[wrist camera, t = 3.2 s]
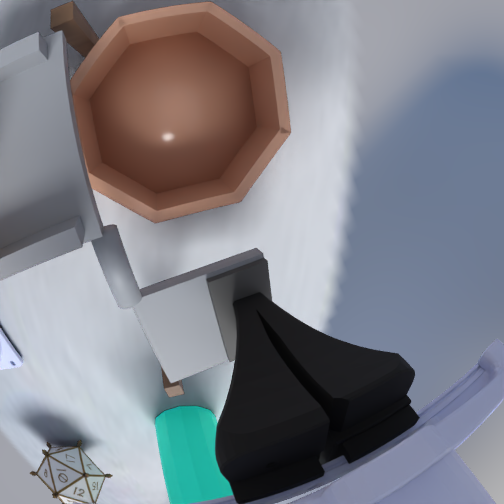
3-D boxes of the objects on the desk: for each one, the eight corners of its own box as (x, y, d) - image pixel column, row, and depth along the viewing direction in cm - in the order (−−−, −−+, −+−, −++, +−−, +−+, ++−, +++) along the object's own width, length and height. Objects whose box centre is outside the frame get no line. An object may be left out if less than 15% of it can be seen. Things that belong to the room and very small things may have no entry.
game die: (72, 429, 25) (55, 489, 18) (29, 413, 18) (11, 485, 12) (131, 459, 23) (113, 524, 17) (93, 454, 17) (74, 534, 11)
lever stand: (59, 348, 16) (45, 416, 11) (-31, 108, 8) (-94, 115, 3) (171, 321, 18) (184, 393, 13) (102, 43, 10) (72, 0, 5)
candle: (141, 421, 22) (162, 538, 11) (189, 397, 22) (227, 525, 12) (181, 440, 25) (209, 538, 15) (227, 419, 25) (267, 523, 15)
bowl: (109, 214, 14) (97, 240, 11) (77, 55, 10) (56, 38, 7) (268, 175, 16) (296, 189, 13) (247, 22, 11) (272, 0, 8)
